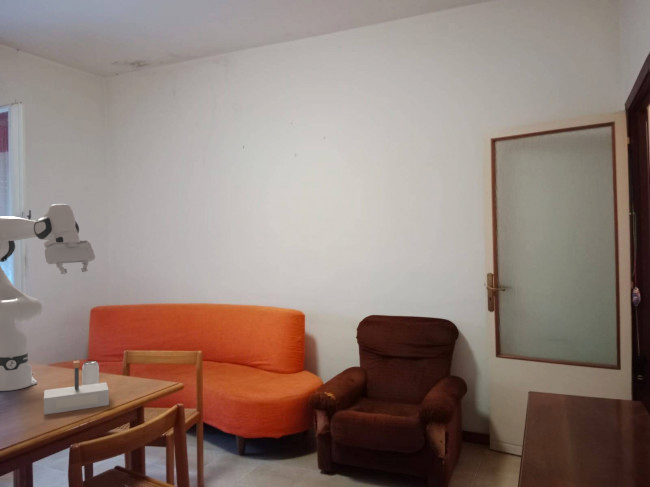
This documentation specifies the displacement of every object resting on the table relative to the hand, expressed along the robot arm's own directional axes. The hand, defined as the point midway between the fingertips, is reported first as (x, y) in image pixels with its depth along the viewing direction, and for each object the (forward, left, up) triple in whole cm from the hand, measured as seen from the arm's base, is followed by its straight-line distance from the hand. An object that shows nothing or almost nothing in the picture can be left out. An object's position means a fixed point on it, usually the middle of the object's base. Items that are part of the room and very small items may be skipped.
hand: (74, 272), depth 205 cm
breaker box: (+14, 0, -51) cm, 53 cm away
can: (-5, +6, -51) cm, 52 cm away
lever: (+14, 0, -45) cm, 47 cm away
